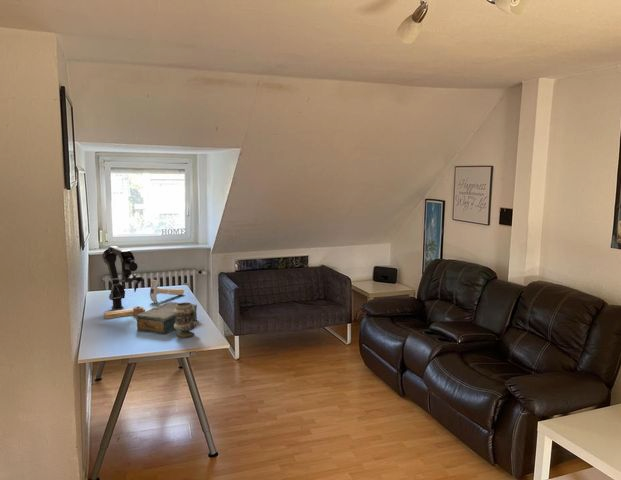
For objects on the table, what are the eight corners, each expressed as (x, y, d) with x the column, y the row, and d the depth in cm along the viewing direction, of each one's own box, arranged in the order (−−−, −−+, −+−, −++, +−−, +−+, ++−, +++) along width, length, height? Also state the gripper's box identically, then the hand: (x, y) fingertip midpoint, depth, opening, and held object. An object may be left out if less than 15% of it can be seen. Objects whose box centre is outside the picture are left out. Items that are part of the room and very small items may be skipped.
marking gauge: (132, 313, 318) (131, 304, 317) (140, 312, 320) (139, 303, 320) (135, 316, 310) (134, 308, 309) (143, 315, 312) (143, 306, 312)
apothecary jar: (186, 330, 281) (185, 300, 279) (200, 334, 274) (199, 303, 272) (169, 336, 271) (168, 304, 269) (184, 340, 264) (182, 307, 262)
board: (104, 316, 312) (104, 312, 311) (143, 310, 324) (142, 306, 324) (106, 318, 306) (105, 314, 306) (145, 313, 318) (145, 309, 318)
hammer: (180, 281, 370) (150, 279, 344) (185, 282, 368) (155, 280, 342) (178, 302, 369) (147, 301, 343) (182, 303, 367) (152, 302, 340)
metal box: (198, 320, 303) (198, 304, 302) (165, 335, 273) (164, 318, 272) (170, 316, 311) (169, 301, 310) (135, 331, 281) (134, 314, 280)
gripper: (113, 272, 305) (114, 297, 307) (144, 269, 315) (145, 293, 317) (110, 270, 315) (111, 293, 317) (140, 267, 324) (141, 290, 326)
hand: (127, 292), depth 319 cm, fingers open, 9 cm apart
